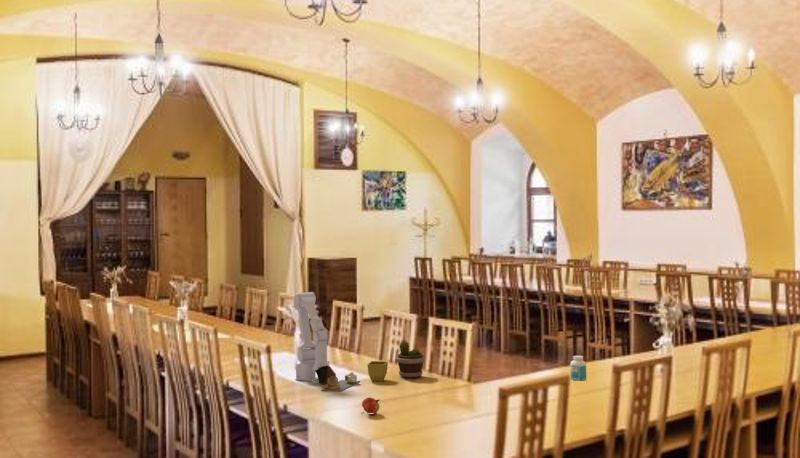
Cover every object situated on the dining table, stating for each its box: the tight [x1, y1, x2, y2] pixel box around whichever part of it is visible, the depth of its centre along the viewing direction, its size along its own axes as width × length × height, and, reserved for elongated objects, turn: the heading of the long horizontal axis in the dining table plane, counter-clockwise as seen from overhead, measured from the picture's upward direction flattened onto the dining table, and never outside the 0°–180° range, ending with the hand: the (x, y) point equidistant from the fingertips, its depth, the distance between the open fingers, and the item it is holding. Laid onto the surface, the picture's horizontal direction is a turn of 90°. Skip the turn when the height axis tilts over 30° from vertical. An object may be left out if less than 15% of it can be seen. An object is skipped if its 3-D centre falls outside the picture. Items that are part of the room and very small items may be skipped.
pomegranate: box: [360, 397, 381, 416], centre depth 330 cm, size 7×7×10 cm
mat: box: [321, 379, 361, 393], centre depth 388 cm, size 10×24×1 cm, turn 161°
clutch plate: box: [344, 373, 358, 381], centre depth 393 cm, size 6×6×2 cm
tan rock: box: [324, 376, 340, 389], centre depth 382 cm, size 7×7×6 cm
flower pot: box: [366, 360, 389, 382], centre depth 400 cm, size 9×9×9 cm
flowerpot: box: [395, 338, 426, 380], centre depth 407 cm, size 14×15×20 cm
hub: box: [347, 371, 357, 384], centre depth 393 cm, size 5×5×5 cm
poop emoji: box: [317, 364, 339, 385], centre depth 396 cm, size 10×8×9 cm
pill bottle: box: [569, 355, 587, 381], centre depth 385 cm, size 8×7×14 cm
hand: (321, 382), depth 391 cm, fingers closed
